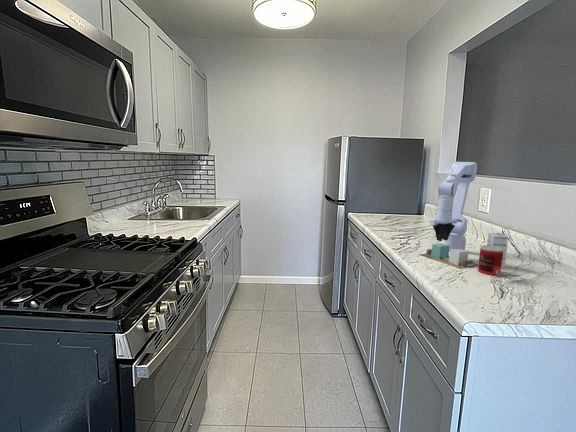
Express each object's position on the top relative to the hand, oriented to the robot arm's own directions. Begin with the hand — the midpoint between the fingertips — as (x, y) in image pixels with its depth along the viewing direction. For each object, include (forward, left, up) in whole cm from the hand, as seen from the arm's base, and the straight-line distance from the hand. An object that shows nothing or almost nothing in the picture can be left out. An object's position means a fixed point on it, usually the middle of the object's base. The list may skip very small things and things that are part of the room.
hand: (442, 240), depth 151 cm
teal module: (0, 0, -8) cm, 8 cm away
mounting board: (0, +4, -9) cm, 10 cm away
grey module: (0, +9, -8) cm, 12 cm away
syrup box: (-12, +17, -9) cm, 23 cm away
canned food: (-1, +22, -9) cm, 24 cm away
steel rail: (0, +4, -8) cm, 9 cm away
